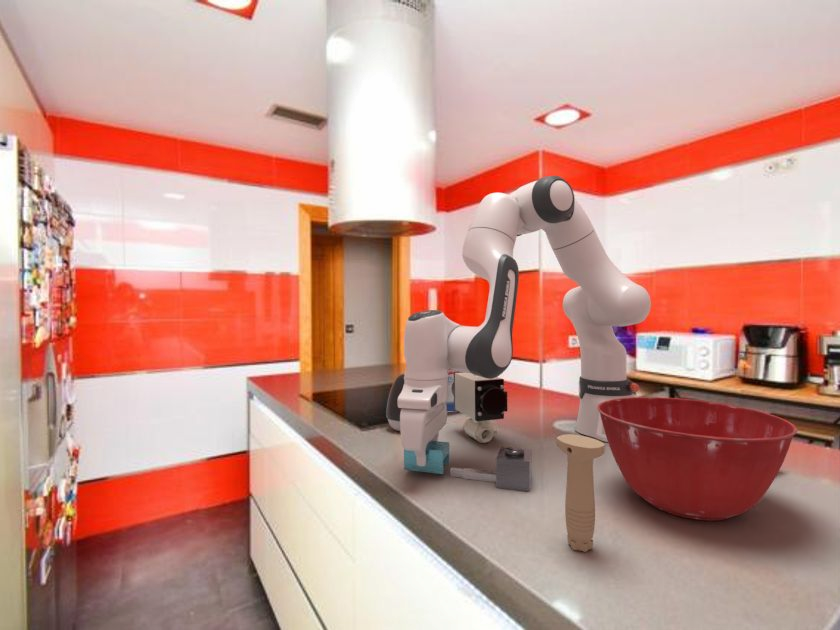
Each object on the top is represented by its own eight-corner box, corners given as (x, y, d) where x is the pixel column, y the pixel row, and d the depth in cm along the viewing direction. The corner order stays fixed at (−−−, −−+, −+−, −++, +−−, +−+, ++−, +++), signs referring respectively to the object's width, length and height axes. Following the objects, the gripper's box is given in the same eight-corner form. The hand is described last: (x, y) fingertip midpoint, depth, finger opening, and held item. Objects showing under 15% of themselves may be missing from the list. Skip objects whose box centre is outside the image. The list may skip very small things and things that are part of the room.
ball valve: (513, 447, 105) (513, 373, 104) (481, 452, 102) (480, 375, 102) (479, 427, 122) (478, 363, 121) (450, 431, 119) (450, 365, 119)
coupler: (446, 482, 85) (446, 449, 85) (454, 468, 92) (454, 438, 92) (529, 491, 81) (529, 457, 80) (531, 477, 87) (531, 445, 87)
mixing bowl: (652, 460, 96) (652, 389, 95) (824, 513, 72) (826, 418, 71) (564, 492, 81) (564, 407, 80) (746, 571, 56) (747, 451, 56)
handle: (590, 563, 58) (590, 450, 58) (550, 542, 64) (550, 438, 63) (610, 551, 61) (611, 443, 61) (571, 531, 67) (571, 432, 66)
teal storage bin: (404, 469, 89) (403, 447, 89) (412, 460, 94) (412, 439, 94) (442, 474, 86) (442, 451, 86) (449, 464, 92) (449, 442, 92)
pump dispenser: (417, 436, 115) (417, 377, 114) (380, 432, 118) (379, 375, 118) (429, 425, 124) (428, 371, 124) (394, 422, 128) (394, 370, 127)
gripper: (426, 381, 101) (426, 441, 101) (393, 400, 81) (394, 475, 82) (453, 382, 99) (454, 444, 99) (426, 402, 79) (427, 479, 80)
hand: (427, 458), depth 90 cm, fingers closed on teal storage bin, 5 cm apart
